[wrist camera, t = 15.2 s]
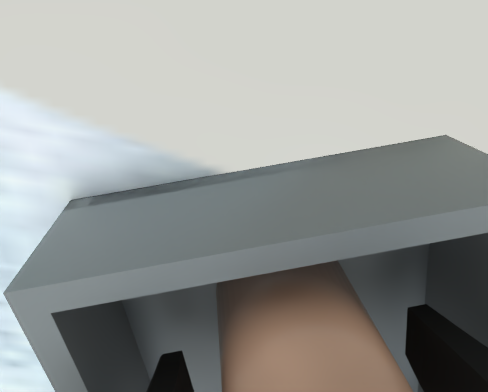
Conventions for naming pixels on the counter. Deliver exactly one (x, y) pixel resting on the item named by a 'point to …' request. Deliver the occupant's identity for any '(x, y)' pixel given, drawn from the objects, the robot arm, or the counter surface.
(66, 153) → the counter surface
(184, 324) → the tote
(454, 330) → the robot arm
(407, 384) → the terracotta cylinder
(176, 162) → the counter surface
